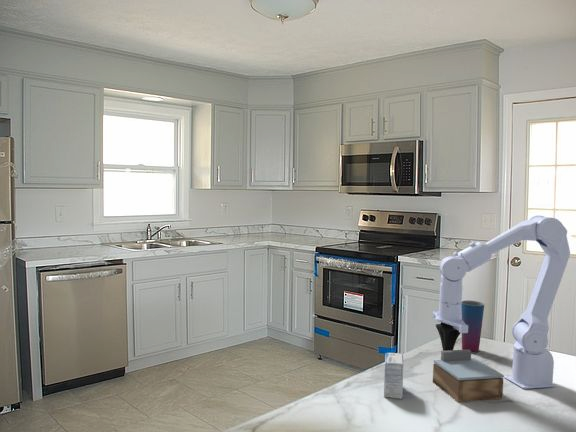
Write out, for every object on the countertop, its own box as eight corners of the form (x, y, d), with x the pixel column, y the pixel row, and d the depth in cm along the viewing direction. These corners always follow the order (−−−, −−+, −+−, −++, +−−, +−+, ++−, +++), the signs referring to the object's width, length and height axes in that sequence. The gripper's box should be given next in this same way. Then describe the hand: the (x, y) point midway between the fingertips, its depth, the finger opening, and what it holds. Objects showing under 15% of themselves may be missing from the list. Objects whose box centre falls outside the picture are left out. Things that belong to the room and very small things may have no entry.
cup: (460, 352, 155) (463, 304, 154) (457, 345, 162) (459, 299, 161) (483, 354, 154) (486, 306, 153) (479, 347, 160) (481, 301, 159)
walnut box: (473, 379, 133) (474, 361, 133) (502, 398, 122) (503, 378, 121) (432, 382, 131) (433, 363, 130) (457, 402, 119) (458, 381, 119)
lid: (474, 360, 133) (475, 349, 133) (503, 377, 121) (504, 365, 121) (433, 362, 130) (434, 351, 130) (459, 380, 119) (459, 368, 119)
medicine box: (402, 399, 120) (403, 364, 119) (383, 397, 121) (384, 362, 120) (401, 386, 127) (403, 353, 127) (383, 384, 128) (385, 351, 128)
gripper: (423, 296, 140) (421, 343, 141) (451, 309, 126) (448, 361, 127) (446, 295, 142) (443, 342, 143) (476, 308, 128) (473, 360, 129)
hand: (447, 351), depth 135 cm, fingers closed
